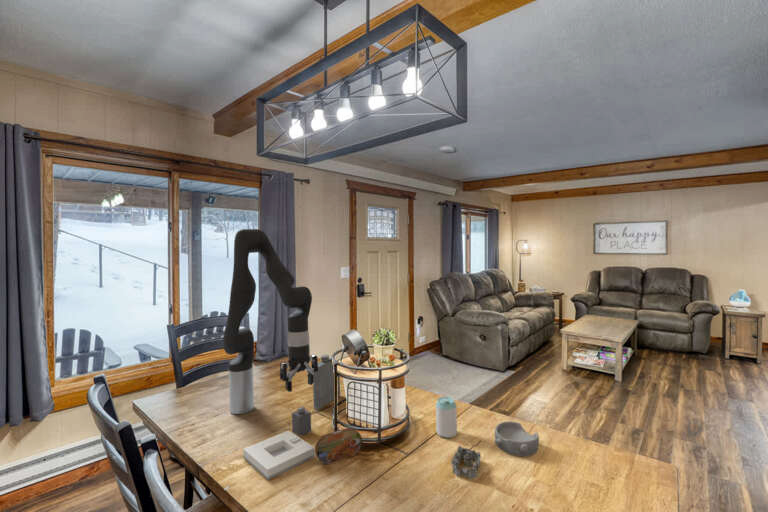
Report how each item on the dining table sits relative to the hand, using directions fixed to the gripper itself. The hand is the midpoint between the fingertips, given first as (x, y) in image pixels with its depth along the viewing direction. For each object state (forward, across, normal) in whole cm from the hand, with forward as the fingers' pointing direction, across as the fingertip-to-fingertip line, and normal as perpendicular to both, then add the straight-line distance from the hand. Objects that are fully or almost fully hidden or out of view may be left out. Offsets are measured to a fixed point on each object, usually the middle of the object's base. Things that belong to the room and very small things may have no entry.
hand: (300, 387), depth 135 cm
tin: (+16, +1, +23) cm, 28 cm away
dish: (+16, -44, +60) cm, 76 cm away
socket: (+16, +14, +9) cm, 23 cm away
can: (+16, -34, +39) cm, 54 cm away
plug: (+16, 0, 0) cm, 16 cm away
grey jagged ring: (+16, -22, +55) cm, 61 cm away
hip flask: (+16, -21, -14) cm, 30 cm away
